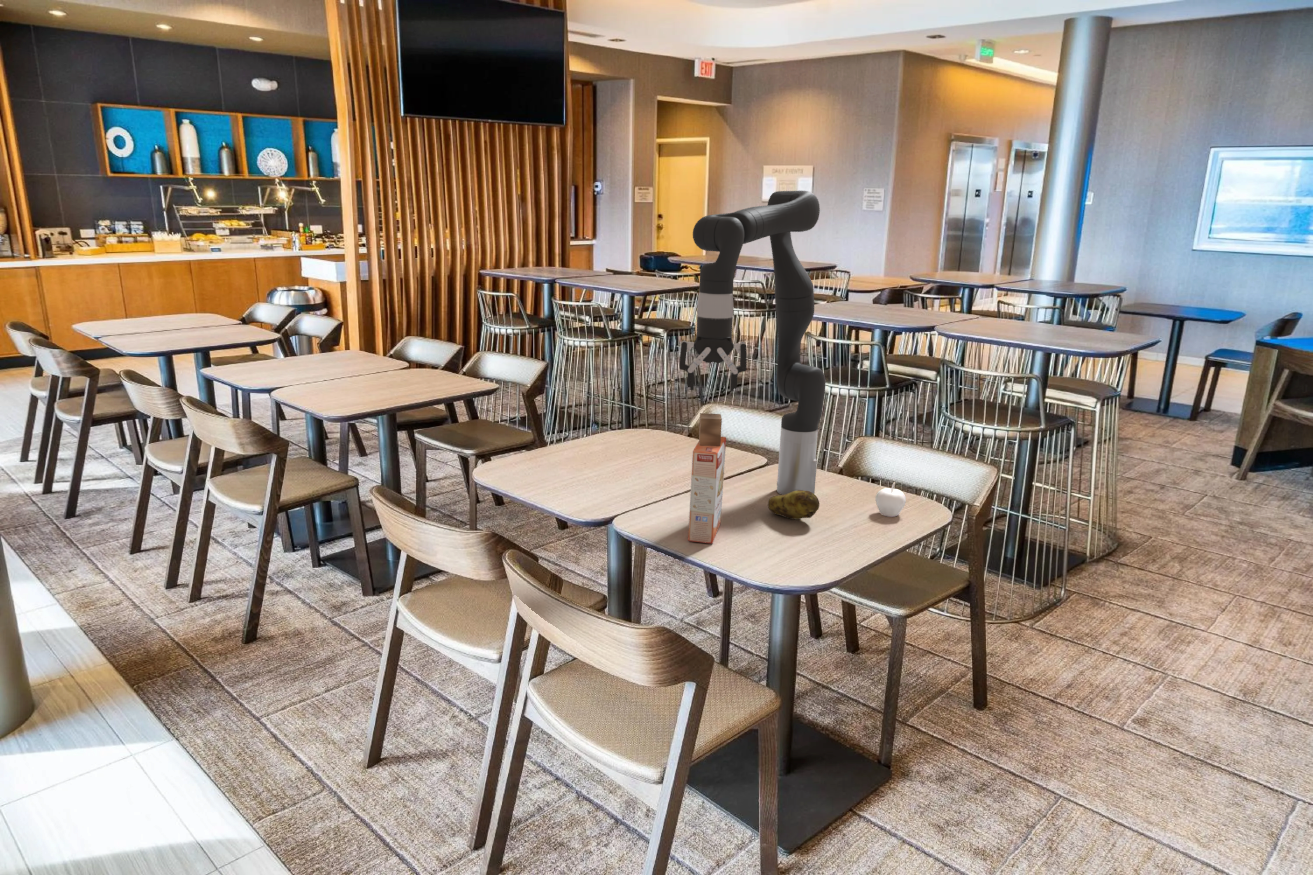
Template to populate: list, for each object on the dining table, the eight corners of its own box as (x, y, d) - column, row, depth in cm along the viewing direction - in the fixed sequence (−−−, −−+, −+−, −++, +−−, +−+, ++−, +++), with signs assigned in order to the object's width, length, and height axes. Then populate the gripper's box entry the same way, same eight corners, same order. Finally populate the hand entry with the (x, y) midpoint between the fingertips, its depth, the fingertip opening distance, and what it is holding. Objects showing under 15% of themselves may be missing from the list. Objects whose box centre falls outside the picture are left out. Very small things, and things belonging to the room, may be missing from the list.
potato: (792, 508, 212) (794, 477, 210) (823, 526, 201) (826, 493, 198) (763, 512, 208) (765, 481, 206) (793, 531, 197) (795, 498, 195)
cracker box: (714, 545, 188) (719, 452, 182) (687, 542, 189) (690, 450, 184) (722, 522, 201) (727, 435, 196) (697, 520, 202) (700, 433, 197)
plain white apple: (910, 516, 209) (914, 484, 207) (889, 521, 205) (892, 489, 203) (889, 507, 215) (892, 476, 213) (868, 512, 211) (871, 480, 209)
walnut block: (719, 440, 192) (720, 414, 190) (720, 446, 187) (721, 419, 186) (698, 439, 192) (700, 413, 190) (699, 445, 187) (700, 418, 186)
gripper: (747, 313, 186) (743, 387, 190) (680, 311, 186) (678, 385, 190) (750, 317, 178) (746, 394, 183) (681, 315, 179) (678, 392, 183)
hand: (711, 390), depth 186 cm, fingers open, 8 cm apart
